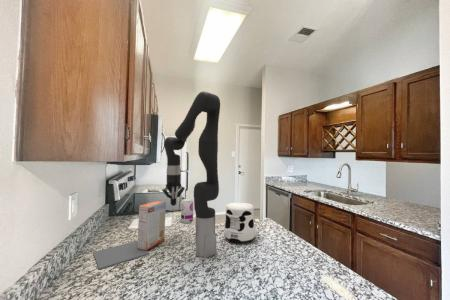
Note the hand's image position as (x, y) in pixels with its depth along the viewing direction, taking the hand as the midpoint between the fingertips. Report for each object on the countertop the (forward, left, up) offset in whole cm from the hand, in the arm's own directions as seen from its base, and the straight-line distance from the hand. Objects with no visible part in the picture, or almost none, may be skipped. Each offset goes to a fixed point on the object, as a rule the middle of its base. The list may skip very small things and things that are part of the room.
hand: (173, 205), depth 112 cm
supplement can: (+21, -20, -19) cm, 34 cm away
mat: (0, +26, -18) cm, 32 cm away
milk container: (-22, -29, -19) cm, 41 cm away
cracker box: (0, +12, -18) cm, 22 cm away
